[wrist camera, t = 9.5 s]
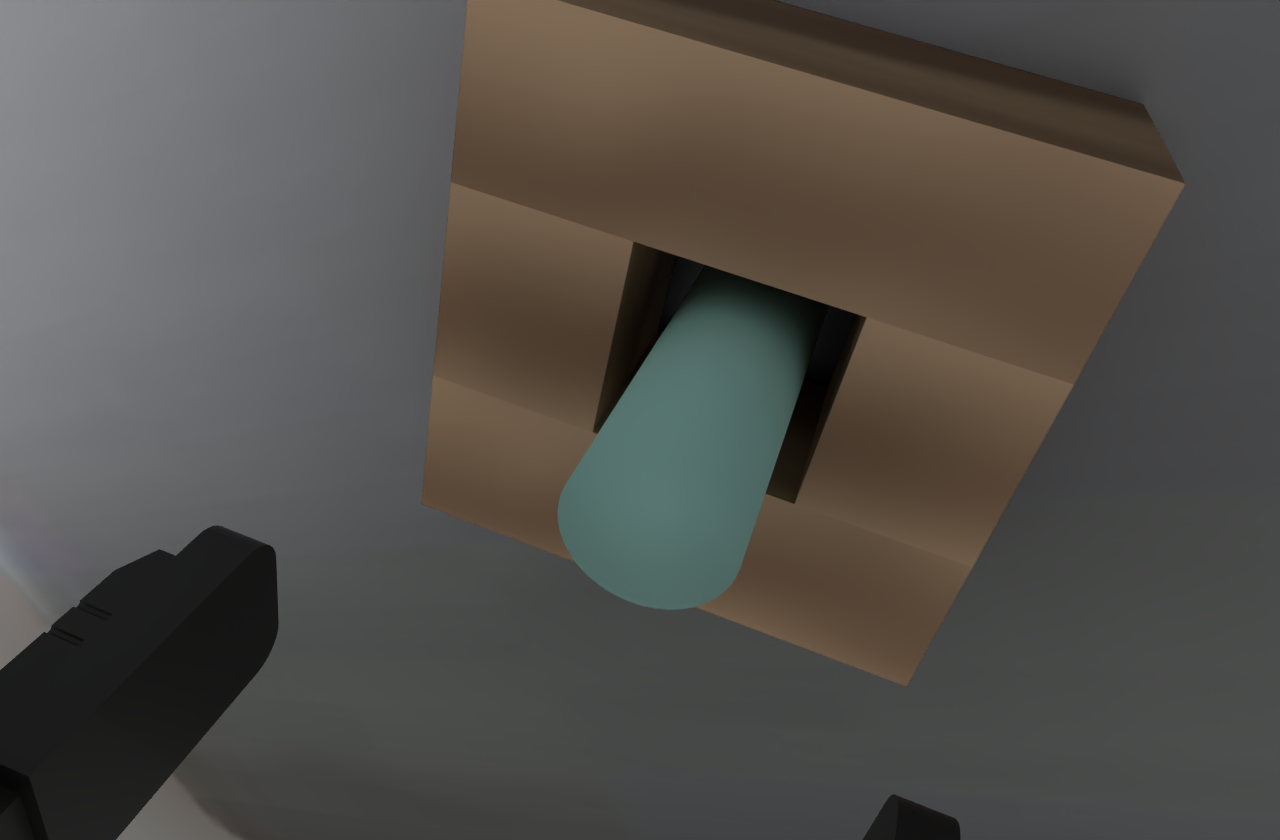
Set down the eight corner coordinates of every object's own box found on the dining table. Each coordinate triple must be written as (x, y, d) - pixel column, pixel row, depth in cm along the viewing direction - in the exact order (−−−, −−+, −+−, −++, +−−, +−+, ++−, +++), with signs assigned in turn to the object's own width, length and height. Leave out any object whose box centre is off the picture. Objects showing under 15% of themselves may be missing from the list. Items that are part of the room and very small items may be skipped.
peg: (725, 205, 22) (573, 426, 14) (850, 245, 22) (766, 495, 14) (696, 316, 24) (544, 569, 16) (811, 355, 24) (716, 634, 16)
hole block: (573, -57, 20) (469, -26, 16) (1143, 104, 19) (1186, 183, 15) (505, 401, 27) (421, 503, 23) (919, 548, 26) (906, 686, 22)
